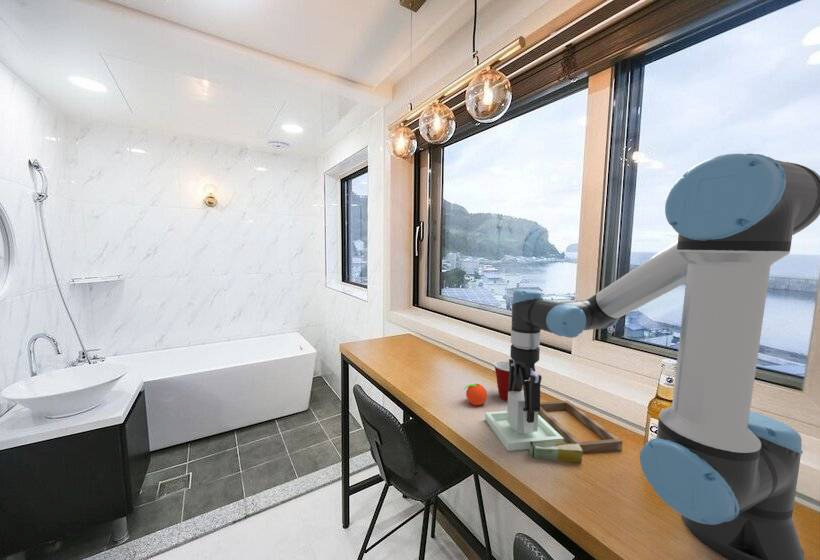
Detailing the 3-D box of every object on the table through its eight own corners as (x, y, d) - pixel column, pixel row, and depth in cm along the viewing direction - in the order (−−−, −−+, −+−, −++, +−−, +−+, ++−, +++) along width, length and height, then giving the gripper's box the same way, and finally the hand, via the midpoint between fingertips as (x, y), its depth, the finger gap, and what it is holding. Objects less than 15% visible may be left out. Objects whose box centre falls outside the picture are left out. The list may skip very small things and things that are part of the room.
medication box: (531, 462, 78) (532, 447, 77) (528, 454, 81) (529, 440, 80) (582, 464, 77) (583, 450, 76) (577, 456, 79) (578, 442, 78)
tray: (563, 449, 83) (563, 438, 82) (507, 454, 80) (508, 443, 80) (532, 418, 98) (532, 409, 97) (485, 421, 96) (485, 412, 95)
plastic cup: (530, 398, 111) (531, 365, 110) (513, 408, 104) (514, 373, 103) (503, 387, 119) (504, 357, 118) (486, 396, 112) (487, 363, 111)
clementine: (464, 409, 103) (464, 388, 102) (461, 399, 110) (461, 379, 109) (488, 409, 103) (489, 388, 102) (484, 399, 110) (484, 379, 109)
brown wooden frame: (621, 450, 82) (622, 441, 82) (578, 454, 80) (579, 445, 80) (567, 407, 104) (567, 400, 104) (532, 410, 103) (532, 403, 102)
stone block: (537, 431, 86) (538, 400, 85) (516, 433, 85) (518, 401, 85) (526, 419, 92) (527, 390, 91) (507, 421, 91) (508, 391, 90)
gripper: (558, 356, 78) (554, 444, 80) (520, 335, 96) (518, 407, 99) (530, 357, 77) (526, 447, 79) (497, 336, 95) (495, 409, 98)
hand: (521, 425), depth 89 cm, fingers closed on stone block, 6 cm apart
